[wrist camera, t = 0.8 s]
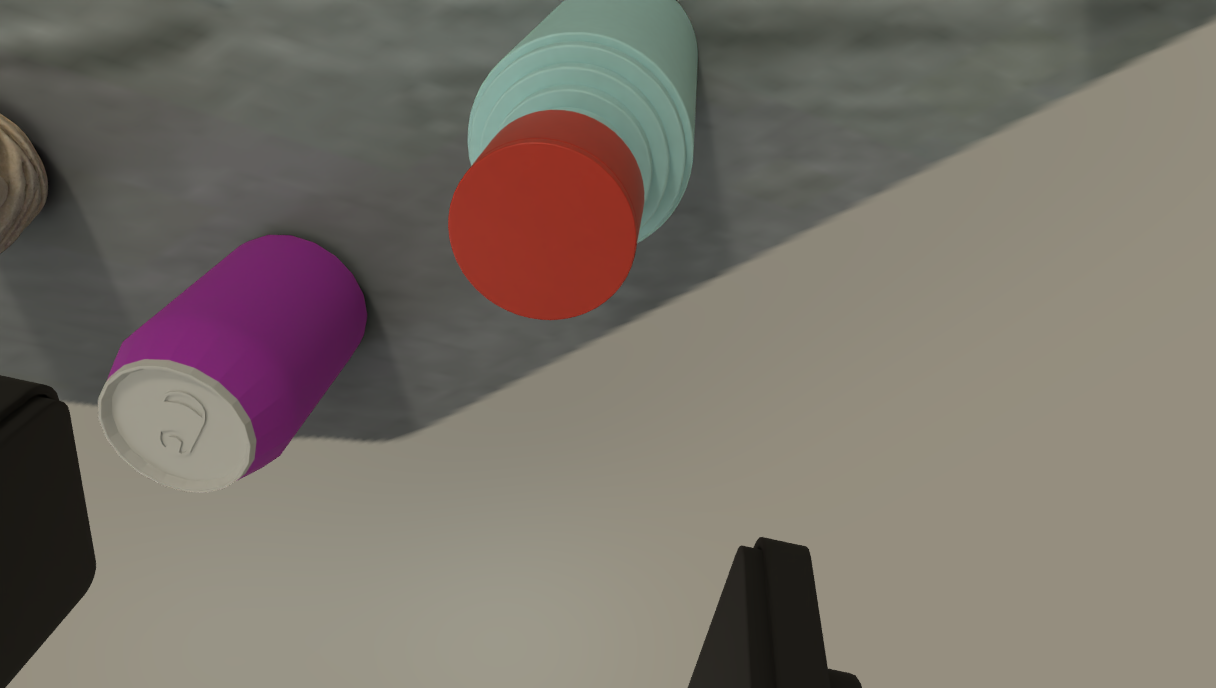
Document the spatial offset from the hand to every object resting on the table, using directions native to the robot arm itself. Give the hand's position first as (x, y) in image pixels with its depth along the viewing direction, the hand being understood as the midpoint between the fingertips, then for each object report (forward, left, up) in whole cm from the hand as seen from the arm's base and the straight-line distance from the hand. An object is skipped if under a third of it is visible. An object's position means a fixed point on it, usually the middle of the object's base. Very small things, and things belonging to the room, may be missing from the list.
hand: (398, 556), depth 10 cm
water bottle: (0, 0, -30) cm, 30 cm away
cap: (0, 0, -13) cm, 13 cm away
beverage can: (+15, -14, -30) cm, 36 cm away
